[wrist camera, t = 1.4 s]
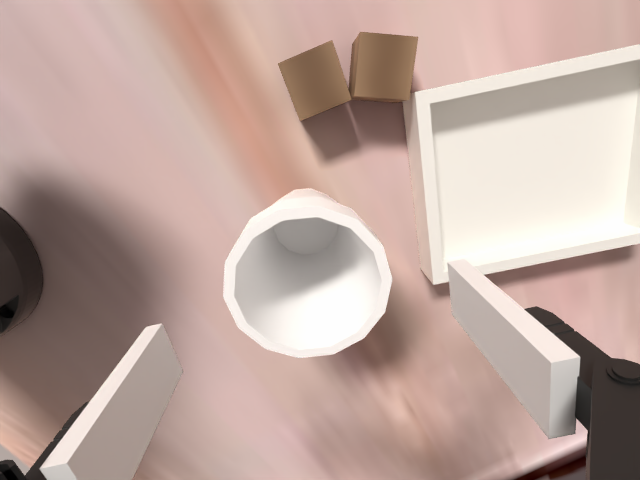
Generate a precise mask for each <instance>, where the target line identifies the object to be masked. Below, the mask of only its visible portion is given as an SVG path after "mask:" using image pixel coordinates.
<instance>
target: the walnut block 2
mask: <svg viewBox="0 0 640 480" xmlns="http://www.w3.org/2000/svg"><path fill="white" fill-rule="evenodd" d="M417 42H418V37H413V36H402V35H391V34H379V33H368V32H360V33H359V35H358V36H357V38H356V39H355V41H354V42H353V44H352V54H351V65H350V77H349V88H348V90H349V93H350V96H351V99H352V100H365V101H379V102H392V103H397V102H402V101H407V100H409V98H410V91H411V84H412V77H413V70H414V63H415V56H416V49H417Z"/></svg>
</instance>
